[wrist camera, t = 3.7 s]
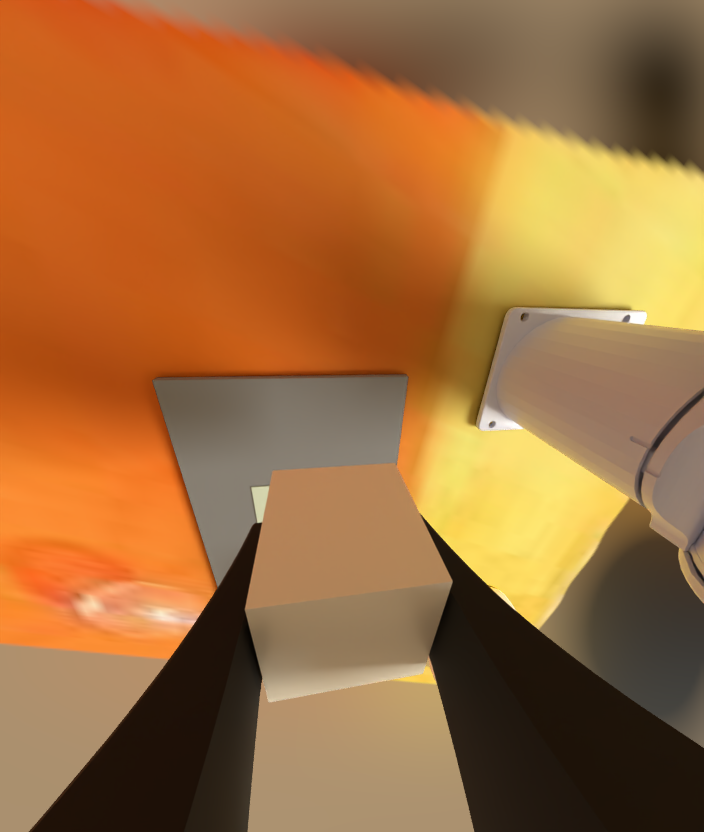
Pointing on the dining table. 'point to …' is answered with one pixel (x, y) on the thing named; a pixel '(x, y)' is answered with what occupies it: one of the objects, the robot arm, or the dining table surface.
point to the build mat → (271, 440)
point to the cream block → (342, 581)
